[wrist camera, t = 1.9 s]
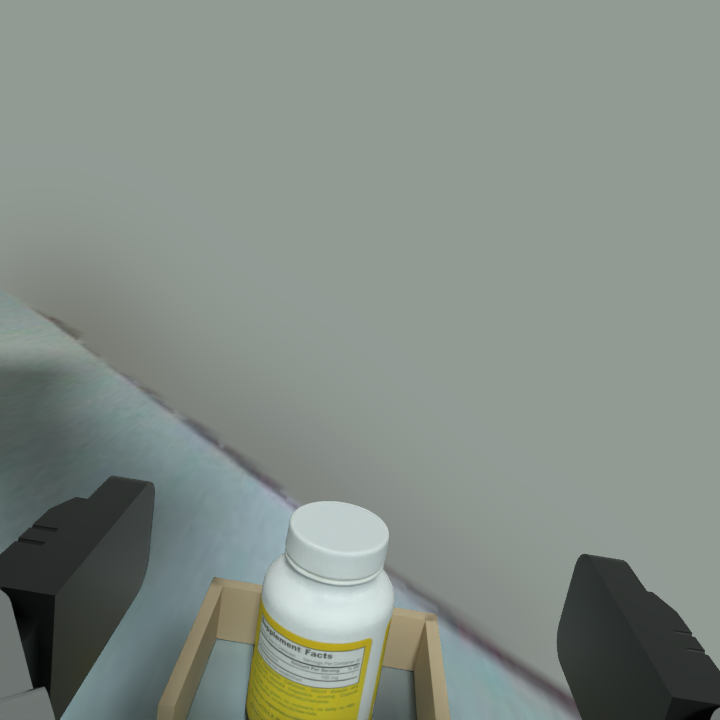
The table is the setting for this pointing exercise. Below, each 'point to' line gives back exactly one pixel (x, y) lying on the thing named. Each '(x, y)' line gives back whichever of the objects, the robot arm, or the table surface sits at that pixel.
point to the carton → (238, 623)
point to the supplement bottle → (323, 618)
